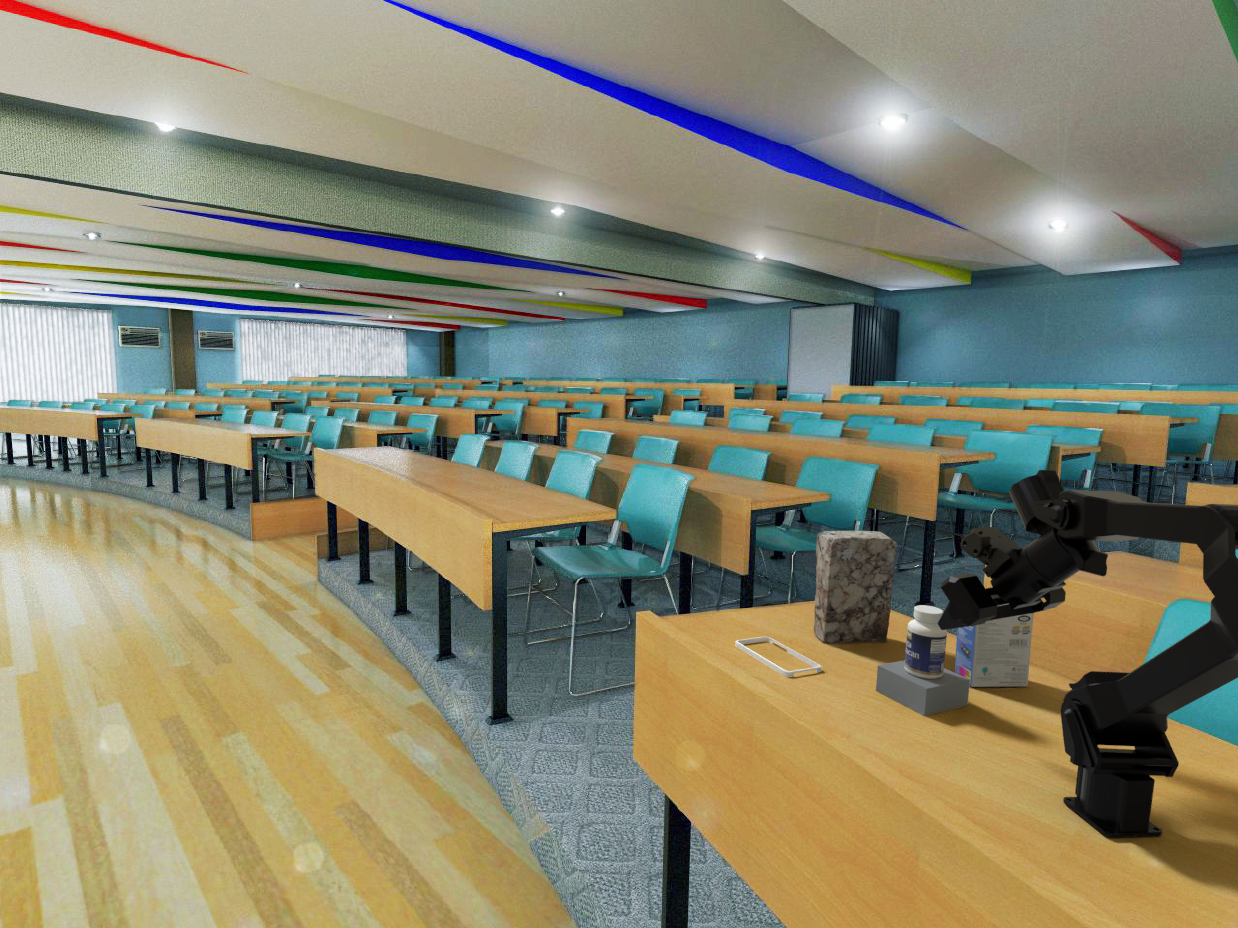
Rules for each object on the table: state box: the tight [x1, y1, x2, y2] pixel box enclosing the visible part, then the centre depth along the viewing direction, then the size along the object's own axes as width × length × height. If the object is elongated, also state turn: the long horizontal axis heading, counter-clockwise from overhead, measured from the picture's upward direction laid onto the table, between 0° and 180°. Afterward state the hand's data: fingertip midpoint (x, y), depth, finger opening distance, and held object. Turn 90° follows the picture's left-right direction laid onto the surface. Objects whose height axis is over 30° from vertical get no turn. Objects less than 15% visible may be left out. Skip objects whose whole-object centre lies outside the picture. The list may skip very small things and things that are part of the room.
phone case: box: [734, 636, 822, 678], centre depth 119 cm, size 7×1×15 cm
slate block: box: [875, 659, 970, 717], centre depth 105 cm, size 9×9×4 cm
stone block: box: [813, 530, 898, 645], centre depth 128 cm, size 13×7×20 cm, turn 103°
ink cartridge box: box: [954, 613, 1035, 688], centre depth 111 cm, size 10×6×14 cm, turn 96°
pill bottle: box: [904, 604, 948, 679], centre depth 104 cm, size 5×5×10 cm
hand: (962, 622), depth 98 cm, fingers open, 9 cm apart
